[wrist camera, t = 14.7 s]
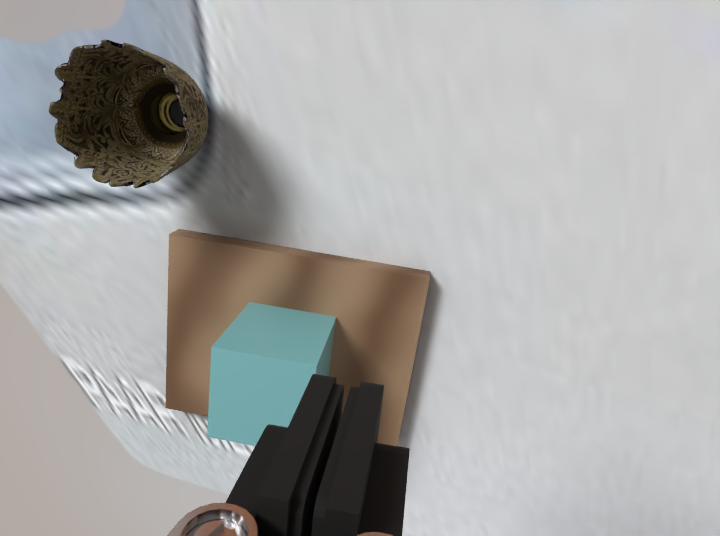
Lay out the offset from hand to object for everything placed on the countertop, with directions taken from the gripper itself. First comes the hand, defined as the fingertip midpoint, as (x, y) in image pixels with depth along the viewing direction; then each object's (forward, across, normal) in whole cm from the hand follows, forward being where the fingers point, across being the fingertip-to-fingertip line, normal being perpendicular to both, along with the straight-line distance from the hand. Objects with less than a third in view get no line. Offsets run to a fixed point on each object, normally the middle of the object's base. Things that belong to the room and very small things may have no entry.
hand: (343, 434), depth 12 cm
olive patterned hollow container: (+24, +16, -5) cm, 29 cm away
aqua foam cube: (+23, +7, +10) cm, 26 cm away
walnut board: (+24, +7, +10) cm, 27 cm away
